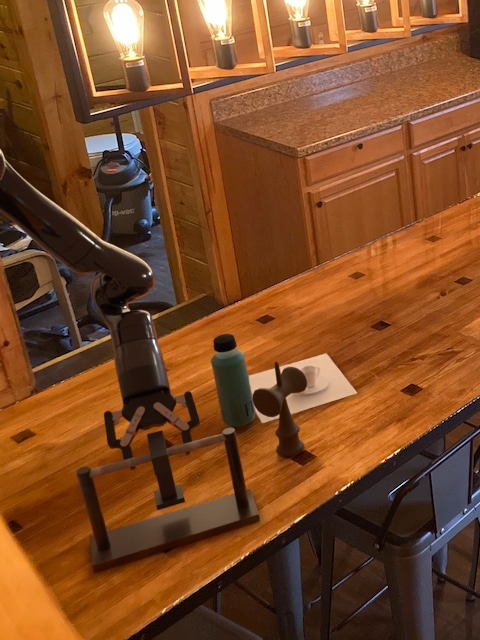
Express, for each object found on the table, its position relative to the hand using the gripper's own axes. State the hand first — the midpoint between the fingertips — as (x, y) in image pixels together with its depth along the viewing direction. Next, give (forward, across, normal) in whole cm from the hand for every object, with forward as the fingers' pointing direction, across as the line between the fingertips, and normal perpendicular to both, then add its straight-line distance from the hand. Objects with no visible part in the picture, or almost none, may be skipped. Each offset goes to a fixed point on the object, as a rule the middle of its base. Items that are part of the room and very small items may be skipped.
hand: (161, 461), depth 159 cm
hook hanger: (+7, 0, +5) cm, 9 cm away
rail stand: (+11, 0, +8) cm, 14 cm away
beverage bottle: (-9, +15, +28) cm, 33 cm away
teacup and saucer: (-15, +28, +34) cm, 47 cm away
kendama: (+1, +22, +18) cm, 28 cm away
